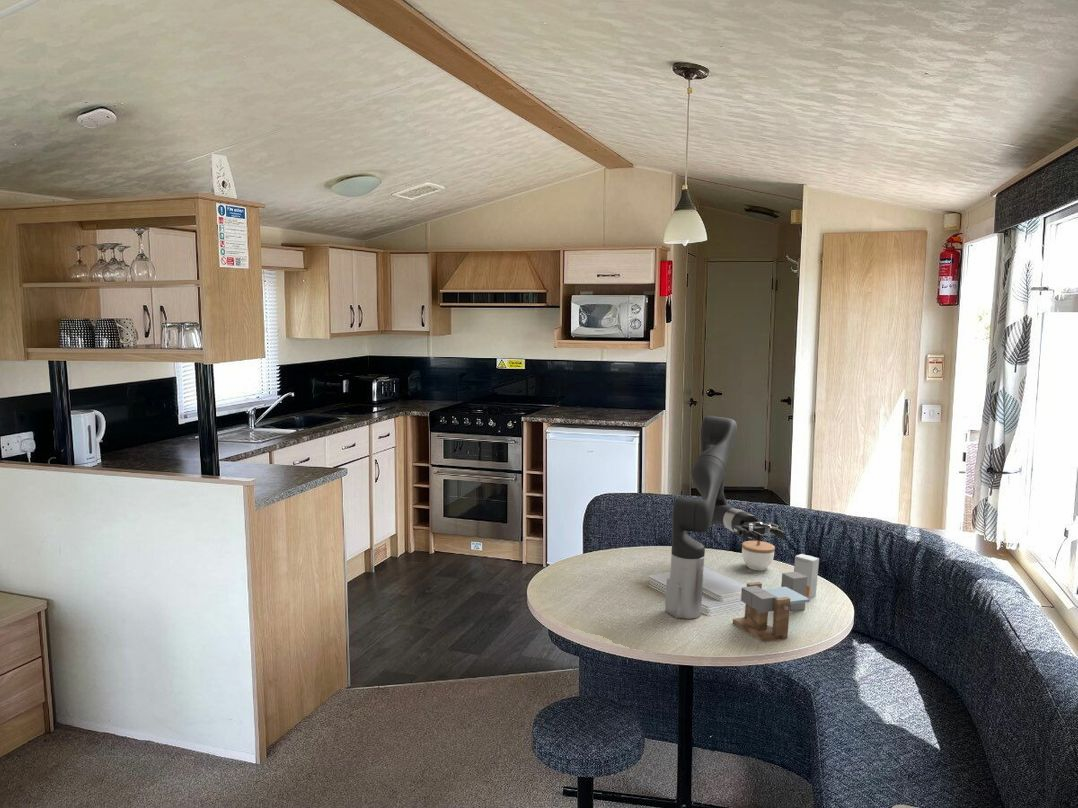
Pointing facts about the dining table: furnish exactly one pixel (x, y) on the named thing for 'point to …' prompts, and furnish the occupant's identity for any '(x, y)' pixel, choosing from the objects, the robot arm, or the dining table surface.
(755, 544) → the lidded jar
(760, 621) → the trapdoor frame
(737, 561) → the dining table surface
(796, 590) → the basalt block
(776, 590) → the trapdoor
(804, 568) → the skincare box
